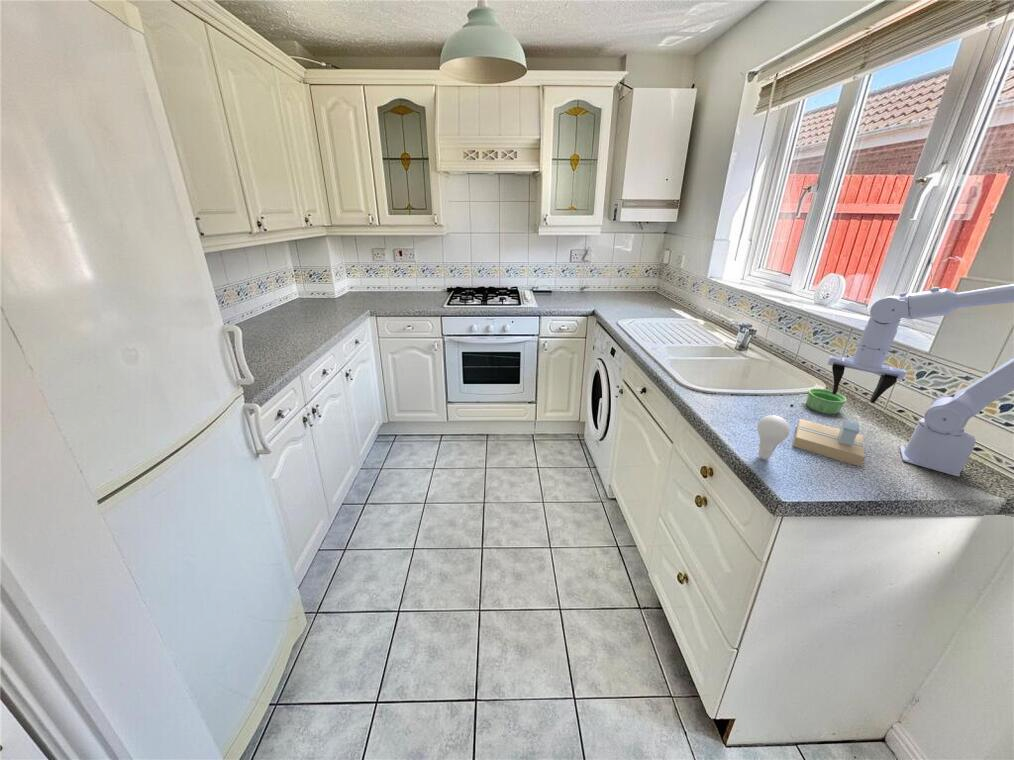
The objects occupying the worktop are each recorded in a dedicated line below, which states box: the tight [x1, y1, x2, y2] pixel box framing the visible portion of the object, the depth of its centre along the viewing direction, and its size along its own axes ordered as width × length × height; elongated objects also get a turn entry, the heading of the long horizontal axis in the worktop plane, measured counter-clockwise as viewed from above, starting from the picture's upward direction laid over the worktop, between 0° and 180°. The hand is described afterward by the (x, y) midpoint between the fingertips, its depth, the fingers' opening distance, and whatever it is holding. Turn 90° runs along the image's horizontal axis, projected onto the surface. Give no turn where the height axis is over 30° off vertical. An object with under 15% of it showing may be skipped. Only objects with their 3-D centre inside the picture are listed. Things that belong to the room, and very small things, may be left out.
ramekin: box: [805, 387, 847, 415], centre depth 119 cm, size 9×9×4 cm
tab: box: [838, 419, 860, 446], centre depth 97 cm, size 3×5×4 cm, turn 143°
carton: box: [792, 418, 865, 467], centre depth 100 cm, size 13×12×3 cm
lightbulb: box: [756, 414, 791, 460], centre depth 92 cm, size 6×6×11 cm
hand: (852, 397), depth 103 cm, fingers open, 7 cm apart
